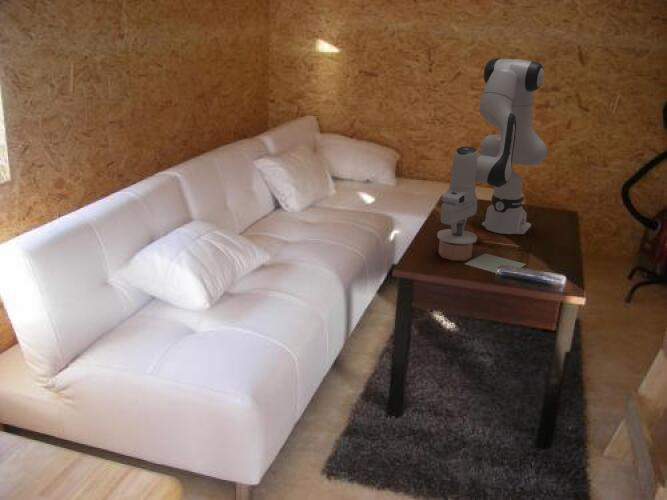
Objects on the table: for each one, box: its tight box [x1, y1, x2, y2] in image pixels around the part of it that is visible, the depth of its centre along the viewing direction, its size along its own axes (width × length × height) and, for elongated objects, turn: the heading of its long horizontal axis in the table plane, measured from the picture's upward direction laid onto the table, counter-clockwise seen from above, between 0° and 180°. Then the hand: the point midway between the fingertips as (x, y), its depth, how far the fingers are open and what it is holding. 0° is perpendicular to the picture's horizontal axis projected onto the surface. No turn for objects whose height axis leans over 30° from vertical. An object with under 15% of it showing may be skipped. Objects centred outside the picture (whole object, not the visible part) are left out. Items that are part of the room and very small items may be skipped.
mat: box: [464, 253, 527, 274], centre depth 227 cm, size 16×16×1 cm
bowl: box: [437, 239, 474, 261], centre depth 233 cm, size 11×11×6 cm
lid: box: [436, 222, 478, 244], centre depth 231 cm, size 14×14×5 cm
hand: (457, 231), depth 231 cm, fingers closed on lid, 3 cm apart
